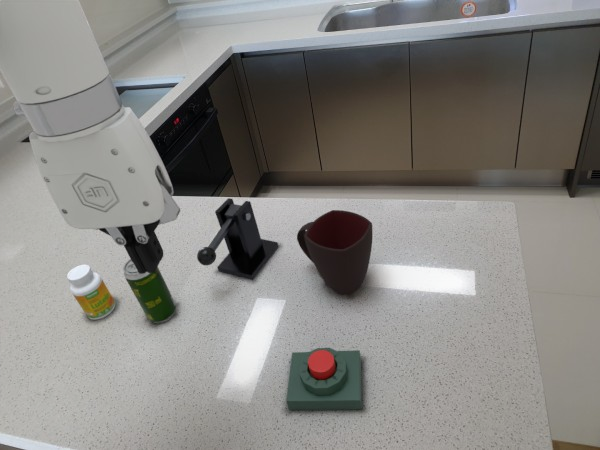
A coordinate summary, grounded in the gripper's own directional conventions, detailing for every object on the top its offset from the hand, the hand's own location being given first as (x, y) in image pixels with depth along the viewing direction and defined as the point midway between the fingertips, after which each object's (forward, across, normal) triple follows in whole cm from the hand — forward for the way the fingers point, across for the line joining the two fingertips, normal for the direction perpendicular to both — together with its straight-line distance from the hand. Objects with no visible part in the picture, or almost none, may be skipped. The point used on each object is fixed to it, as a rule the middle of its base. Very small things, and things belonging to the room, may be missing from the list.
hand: (151, 264), depth 50 cm
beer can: (+27, -15, +18) cm, 36 cm away
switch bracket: (+27, -1, +31) cm, 41 cm away
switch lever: (+19, -3, +27) cm, 33 cm away
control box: (+27, +15, +3) cm, 31 cm away
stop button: (+23, +15, +3) cm, 28 cm away
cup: (+27, +16, +24) cm, 40 cm away
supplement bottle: (+27, -28, +20) cm, 44 cm away
